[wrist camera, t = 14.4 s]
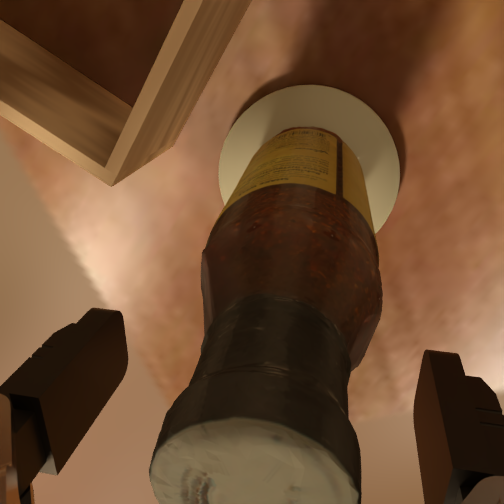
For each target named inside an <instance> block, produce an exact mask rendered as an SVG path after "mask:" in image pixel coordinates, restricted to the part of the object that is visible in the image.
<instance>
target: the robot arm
mask: <svg viewBox="0 0 504 504" xmlns="http://www.w3.org/2000/svg"><path fill="white" fill-rule="evenodd" d="M127 365H128V352H127V344H126V336H125V328H124V320H123V315H122V313H121V312H120V311H117V310H108V309H100V308H91V309H90V310H89V311H88V312H87V313H86V314H85V315H84V316H83V317H82V318H81V319H80V320H79V321H78V322H77V323H76V324H75V323H71V324H69V325H68V326H66V327H64V328H62V329H60V330H58V331H57V332H55V333H54V334H53V335H52V336H51V337H50V338H49V339H48V340H47V341H45V342H44V344H42V347H41V348H38V349H37V350H36V352H34V353H33V354H32V357H31V358H30V357H29V358H28V359H27V360H26V361H25V362H24V363H23V364H22V365H21V367H19V368H18V369H17V370H16V371H15V372H14V373H13V374H12V375H11V376H10V377H9V378H8V379H7V380H6V381H5V382H4V383H3V384H2V385H1V386H0V504H35V503H34V490H33V485H32V481H33V479H34V478H35V477H36V475H37V474H38V472H42V473H47V474H52V475H58V474H59V472H60V471H61V469H62V468H63V467H64V465H65V464H66V462H67V461H68V459H69V458H70V456H71V454H72V453H73V452H74V450H75V449H76V447H77V446H78V444H79V443H80V441H81V440H82V439H83V437H84V436H85V434H86V433H87V431H88V430H89V428H90V427H91V425H92V424H93V422H94V421H95V419H96V418H97V416H98V415H99V413H100V412H101V410H102V409H103V408H104V406H105V405H106V403H107V402H108V400H109V399H110V397H111V396H112V394H113V393H114V391H115V390H116V388H117V387H118V386H119V384H120V383H121V381H122V380H123V378H124V375H125V373H126V370H127ZM413 416H414V429H415V436H416V443H417V451H418V458H419V465H420V472H421V479H422V486H423V494H424V501H425V504H504V415H502V409H501V407H500V404H499V401H498V399H497V396H496V394H495V393H494V391H493V390H492V389H491V388H490V387H489V386H488V385H487V384H486V383H485V382H484V381H483V380H482V378H480V377H472V376H465V372H464V369H463V366H462V363H461V359H460V356H459V354H457V353H450V352H442V351H433V350H425V352H424V355H423V359H422V364H421V369H420V374H419V379H418V384H417V389H416V394H415V400H414V413H413Z"/></svg>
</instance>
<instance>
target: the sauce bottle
mask: <svg viewBox="0 0 504 504" xmlns="http://www.w3.org/2000/svg"><path fill="white" fill-rule="evenodd" d="M378 268H379V253H378V246H377V241H376V236H375V231H374V226H373V221H372V216H371V211H370V205H369V200H368V195H367V190H366V185H365V180H364V175H363V171H362V168H361V165H360V163H359V161H358V159H357V157H356V156H355V154H354V152H353V151H352V150H351V149H350V148H349V147H348V146H347V144H346V143H345V142H343V141H342V139H341V138H340V137H339V136H338V135H337V134H335V133H333V132H331V131H328V130H326V129H323V128H318V127H314V126H312V127H292V128H289V129H285V130H283V131H281V132H280V133H279V134H277V135H276V136H274V137H273V138H272V139H270V140H269V141H267V142H266V143H265V144H263V145H262V146H261V147H260V149H259V150H258V151H257V152H256V153H255V155H254V156H253V157H252V159H251V160H250V162H249V164H248V166H247V168H246V169H245V171H244V173H243V175H242V177H241V178H240V180H239V182H238V184H237V186H236V188H235V189H234V191H233V193H232V195H231V196H230V198H229V200H228V201H227V203H226V205H225V207H224V208H223V210H222V212H221V214H220V215H219V217H218V219H217V221H216V223H215V224H214V227H213V229H212V231H211V233H210V236H209V238H208V241H207V244H206V247H205V249H204V250H203V252H202V263H201V290H202V296H203V308H204V334H205V336H204V340H203V343H202V345H201V356H200V359H199V361H198V364H197V367H196V369H195V372H194V374H193V377H192V379H191V381H190V383H189V386H188V387H187V388H186V389H185V390H184V391H183V392H182V393H181V394H180V395H179V396H178V398H177V399H176V400H175V401H174V403H173V405H172V407H171V408H170V409H169V410H168V411H167V413H166V416H165V419H164V422H163V425H162V429H161V432H160V434H159V437H158V440H157V443H156V447H155V449H154V452H153V456H152V460H151V464H150V469H149V476H150V482H151V485H152V487H153V490H154V494H155V497H156V499H157V500H158V502H159V504H361V456H360V448H359V443H358V439H357V435H356V432H355V431H354V429H353V427H352V425H351V423H350V421H349V420H348V394H347V386H348V382H349V378H350V373H351V371H353V370H354V369H355V368H356V367H358V366H359V364H360V363H361V361H362V359H363V357H364V356H365V353H366V350H367V348H368V345H369V343H370V341H371V338H372V336H373V334H374V332H375V329H376V327H377V325H378V322H379V320H380V317H381V312H382V295H383V293H382V287H381V286H382V283H381V276H380V271H379V269H378Z"/></svg>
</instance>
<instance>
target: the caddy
mask: <svg viewBox="0 0 504 504" xmlns="http://www.w3.org/2000/svg"><path fill="white" fill-rule="evenodd" d="M251 1H252V0H184V1H183V3H182V5H181V8H180V10H179V12H178V14H177V16H176V18H175V20H174V22H173V24H172V27H171V29H170V31H169V33H168V35H167V37H166V39H165V41H164V44H163V46H162V48H161V50H160V52H159V54H158V56H157V58H156V60H155V63H154V65H153V67H152V69H151V71H150V73H149V75H148V77H147V80H146V82H145V84H144V86H143V88H142V90H141V92H140V94H139V97H138V99H137V101H136V103H135V105H134V107H131V106H130V105H128V104H127V103H125V102H124V101H122V100H121V99H119V98H118V97H116V96H115V95H113V94H112V93H110V92H109V91H107V90H106V89H104V88H103V87H101V86H100V85H98V84H97V83H95V82H94V81H92V80H91V79H89V78H88V77H86V76H85V75H83V74H82V73H80V72H79V71H77V70H76V69H74V68H73V67H71V66H70V65H68V64H67V63H65V62H64V61H62V60H61V59H59V58H58V57H56V56H55V55H53V54H52V53H50V52H49V51H47V50H46V49H44V48H43V47H41V46H40V45H38V44H37V43H35V42H34V41H32V40H31V39H29V38H28V37H26V36H25V35H23V34H22V33H20V32H19V31H17V30H16V29H14V28H13V27H11V26H10V25H8V24H7V23H5V22H4V21H2V20H1V19H0V115H1V116H2V117H4V118H6V119H7V120H9V121H10V122H12V123H13V124H15V125H16V126H18V127H19V128H21V129H23V130H24V131H26V132H27V133H29V134H30V135H32V136H33V137H35V138H36V139H38V140H40V141H41V142H43V143H44V144H46V145H47V146H49V147H50V148H52V149H53V150H55V151H57V152H58V153H60V154H61V155H63V156H64V157H66V158H67V159H69V160H70V161H72V162H74V163H75V164H77V165H78V166H80V167H81V168H83V169H84V170H86V171H87V172H89V173H90V174H92V175H94V176H95V177H97V178H98V179H100V180H101V181H103V182H104V183H106V184H107V185H109V186H111V187H112V186H114V185H115V184H117V183H118V182H120V181H121V180H123V179H124V178H126V177H127V176H129V175H130V174H132V173H133V172H135V171H136V170H138V169H139V168H141V167H142V166H144V165H145V164H147V163H148V162H150V161H152V160H153V159H155V158H156V157H158V156H159V155H161V154H162V153H164V152H165V151H167V150H168V149H170V148H171V147H173V145H174V144H175V142H176V140H177V138H178V136H179V134H180V132H181V131H182V129H183V127H184V125H185V123H186V121H187V119H188V118H189V116H190V114H191V112H192V110H193V108H194V106H195V105H196V103H197V101H198V99H199V97H200V95H201V93H202V92H203V90H204V88H205V86H206V84H207V82H208V80H209V79H210V77H211V75H212V73H213V71H214V69H215V67H216V66H217V64H218V62H219V60H220V58H221V56H222V54H223V53H224V51H225V49H226V47H227V45H228V43H229V41H230V40H231V38H232V36H233V34H234V32H235V30H236V28H237V27H238V25H239V23H240V21H241V19H242V17H243V15H244V14H245V12H246V10H247V8H248V6H249V4H250V2H251Z"/></svg>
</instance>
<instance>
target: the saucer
mask: <svg viewBox="0 0 504 504" xmlns="http://www.w3.org/2000/svg"><path fill="white" fill-rule="evenodd" d="M312 126H314V127H318V128H323V129H326V130H328V131H331V132H333V133H335V134H337V135H338V136H339V137H340V138H341V139H342V141H343V142H345V143H346V144H347V146H348V147H349V148H350V149H351V150H352V151H353V152H354V154H355V156H356V157H357V159H358V161H359V163H360V165H361V168H362V171H363V175H364V180H365V185H366V190H367V195H368V200H369V205H370V211H371V216H372V221H373V226H374V231H375V234H376V233H377V232H378V231H379V230H380V228H381V227H382V226H383V224H384V223H385V221H386V220H387V218H388V216H389V215H390V213H391V211H392V209H393V206H394V204H395V201H396V198H397V194H398V189H399V181H400V166H399V159H398V154H397V150H396V147H395V144H394V141H393V139H392V136H391V134H390V133H389V131H388V129H387V127H386V125H385V124H384V123H383V121H382V120H381V118H380V117H379V116H378V115H377V114H376V113H375V112H374V111H373V110H372V108H371V107H369V106H368V105H367V104H365V103H364V102H363V101H362V100H360V99H358V98H357V97H355V96H353V95H352V94H350V93H347V92H345V91H342V90H340V89H337V88H333V87H329V86H324V85H315V84H309V85H296V86H290V87H286V88H283V89H280V90H277V91H275V92H272V93H270V94H268V95H266V96H264V97H263V98H261V99H260V100H258V101H257V102H255V103H254V104H253V105H252V106H250V107H249V108H248V109H247V110H246V111H245V112H244V113H243V114H242V115H241V116H240V117H239V118H238V120H237V121H236V122H235V124H234V125H233V127H232V128H231V130H230V131H229V133H228V135H227V138H226V140H225V142H224V145H223V148H222V151H221V156H220V161H219V174H218V175H219V186H220V191H221V196H222V199H223V202H224V204H225V205H226V203H227V201H228V200H229V198H230V196H231V195H232V193H233V191H234V189H235V188H236V186H237V184H238V182H239V180H240V178H241V177H242V175H243V173H244V171H245V169H246V168H247V166H248V164H249V162H250V160H251V159H252V157H253V156H254V155H255V153H256V152H257V151H258V150H259V149H260V147H261V146H262V145H263V144H265V143H266V142H267V141H269V140H270V139H272V138H273V137H274V136H276V135H277V134H279V133H280V132H281V131H283V130H285V129H289V128H292V127H312Z"/></svg>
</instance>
